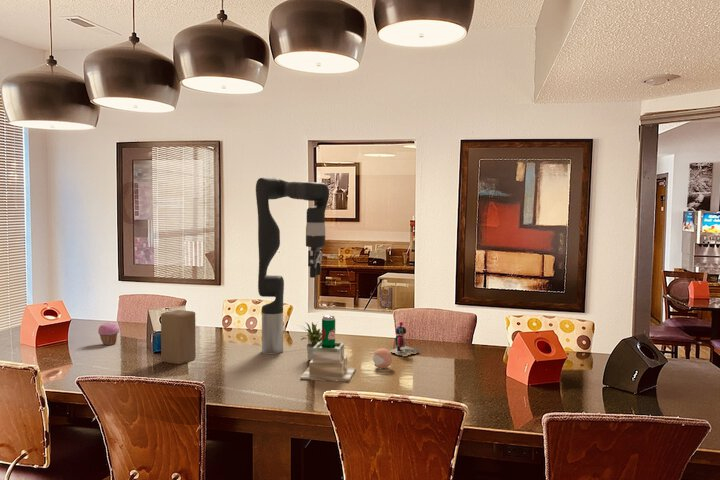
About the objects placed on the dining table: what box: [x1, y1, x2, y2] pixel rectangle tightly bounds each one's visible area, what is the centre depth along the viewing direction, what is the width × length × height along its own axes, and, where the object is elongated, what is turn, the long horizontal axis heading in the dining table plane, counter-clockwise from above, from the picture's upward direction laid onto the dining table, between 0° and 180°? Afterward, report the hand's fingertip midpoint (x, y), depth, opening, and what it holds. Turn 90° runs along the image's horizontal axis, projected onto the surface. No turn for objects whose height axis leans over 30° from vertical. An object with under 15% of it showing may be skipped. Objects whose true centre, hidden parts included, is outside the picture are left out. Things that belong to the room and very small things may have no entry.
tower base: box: [300, 341, 356, 382], centre depth 209 cm, size 15×18×11 cm
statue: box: [389, 320, 421, 356], centre depth 241 cm, size 11×9×15 cm
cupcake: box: [97, 322, 120, 346], centre depth 254 cm, size 9×9×10 cm
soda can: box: [321, 315, 336, 348], centre depth 209 cm, size 5×5×12 cm
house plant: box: [297, 321, 322, 361], centre depth 230 cm, size 14×14×16 cm
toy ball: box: [372, 347, 393, 369], centre depth 218 cm, size 8×8×8 cm
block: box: [160, 309, 197, 365], centre depth 227 cm, size 10×10×20 cm
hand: (315, 276), depth 216 cm, fingers open, 8 cm apart
